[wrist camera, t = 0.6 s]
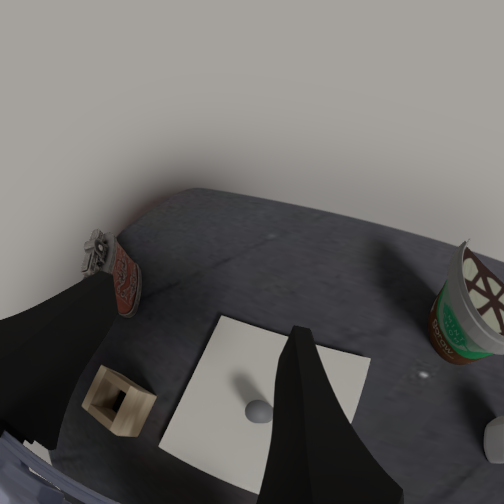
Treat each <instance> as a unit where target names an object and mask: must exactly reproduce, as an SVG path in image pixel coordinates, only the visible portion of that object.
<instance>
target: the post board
mask: <svg viewBox="0 0 504 504" xmlns="http://www.w3.org/2000/svg"><path fill="white" fill-rule="evenodd" d="M287 339H288V337H287V336H284V335H280V334H277V333H274V332H270V331H267V330H264V329H261V328H258V327H255V326H252V325H248V324H245V323H242V322H239V321H236V320H233V319H231V318H228V317H225V316H221V318H220V320H219V322H218V324H217V326H216V328H215V330H214V332H213V334H212V336H211V338H210V341H209V343H208V345H207V347H206V349H205V351H204V353H203V355H202V357H201V359H200V361H199V363H198V365H197V368H196V370H195V372H194V374H193V376H192V378H191V380H190V382H189V384H188V386H187V388H186V390H185V392H184V394H183V397H182V399H181V401H180V403H179V405H178V407H177V409H176V411H175V413H174V415H173V417H172V419H171V421H170V424H169V426H168V428H167V430H166V432H165V434H164V436H163V438H162V440H161V442H160V444H159V446H158V447H160V448H162V449H163V450H165V451H167V452H168V453H170V454H172V455H173V456H175V457H177V458H179V459H181V460H182V461H184V462H186V463H188V464H190V465H192V466H194V467H196V468H198V469H200V470H202V471H204V472H206V473H208V474H210V475H212V476H215V477H217V478H219V479H221V480H224V481H226V482H228V483H231V484H233V485H236V486H238V487H241V488H243V489H246V490H248V491H251V492H254V493H257V494H259V492H260V488H261V484H262V480H263V476H264V472H265V467H266V463H267V458H268V453H269V447H270V442H271V434H272V421H273V404H274V386H275V377H276V371H277V365H278V360H279V356H280V354H281V352H282V350H283V348H284V346H285V344H286V341H287ZM316 347H317V350H318V353H319V356H320V359H321V361H322V364H323V367H324V369H325V372H326V374H327V377H328V379H329V382H330V384H331V386H332V388H333V391H334V393H335V395H336V397H337V399H338V401H339V403H340V405H341V407H342V409H343V411H344V413H345V415H346V417H347V418H348V420H349V422H350V424H351V422H352V419H353V416H354V414H355V411H356V408H357V405H358V401H359V398H360V395H361V392H362V388H363V385H364V382H365V378H366V375H367V371H368V367H369V363H370V358H366V357H362V356H358V355H353V354H349V353H345V352H341V351H337V350H334V349H330V348H326V347H322V346H318V345H316Z"/></svg>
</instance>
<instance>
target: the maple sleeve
mask: <svg viewBox="0 0 504 504" xmlns="http://www.w3.org/2000/svg"><path fill="white" fill-rule="evenodd" d="M121 390H122V391H123V392H125V393H126V396H125V398H124V400H123V402H122V405H121V407H120V409H119V411H118V413H116V412H115V411H113V410H112V408H113V406H114V404H115V402H116V400H117V397H118V395H119V393H120V391H121ZM156 398H157V396H155V395H154V394H152V393H150V392H149V391H147V390H145V389H144V388H142V387H141V386H139V385H137V384H136V383H134V382H133V381H131V380H130V379H128V378H127V377H125V376H124V375H122V374H120V373H118V372H116V371H114V370H111V369H109V368H107V367H105V366H103V365H101V366H100V368H99V370H98V372H97V374H96V376H95V378H94V380H93V382H92V384H91V387H90V389H89V391H88V393H87V395H86V397H85V399H84V402H83V404H82V407H83V408H84V409H85V410H86V411H88V412H89V413H90V414H91V415H92V416H93V417H94V418H96V419H97V420H98V421H99V422H100V423H102V424H103V425H104V426H105V427H106V428H108V429H109V430H110V431H111V432H113V433H114V434H115V435H117V436H129V437H138V435H139V433H140V431H141V429H142V427H143V425H144V423H145V420H146V418H147V416H148V414H149V412H150V410H151V408H152V406H153V404H154V402H155V400H156Z"/></svg>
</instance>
